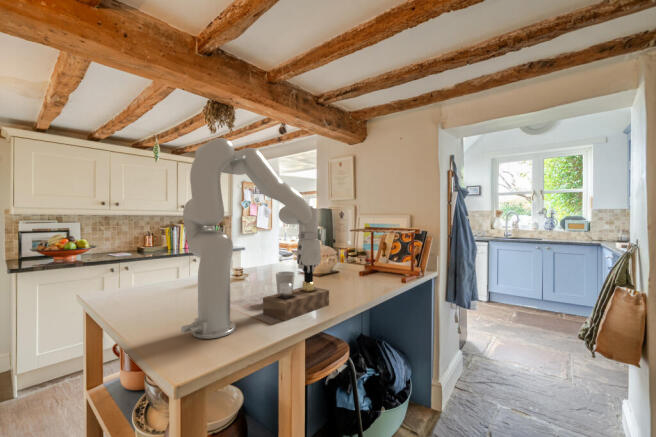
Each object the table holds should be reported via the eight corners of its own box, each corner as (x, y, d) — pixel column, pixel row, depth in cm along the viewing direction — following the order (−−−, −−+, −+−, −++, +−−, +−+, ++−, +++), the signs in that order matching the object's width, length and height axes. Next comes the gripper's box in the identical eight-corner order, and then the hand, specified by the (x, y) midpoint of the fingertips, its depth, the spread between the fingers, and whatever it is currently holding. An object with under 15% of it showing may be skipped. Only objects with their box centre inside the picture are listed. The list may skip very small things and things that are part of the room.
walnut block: (284, 321, 100) (284, 303, 100) (262, 313, 108) (262, 297, 108) (329, 305, 119) (329, 290, 119) (307, 299, 127) (307, 285, 127)
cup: (293, 304, 120) (293, 275, 120) (273, 304, 120) (273, 275, 120) (295, 298, 128) (295, 271, 128) (277, 298, 128) (277, 271, 128)
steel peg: (285, 301, 106) (285, 285, 106) (277, 299, 109) (277, 283, 109) (294, 298, 109) (294, 283, 109) (286, 296, 112) (286, 281, 112)
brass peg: (308, 298, 115) (308, 283, 115) (300, 296, 118) (300, 281, 118) (315, 295, 118) (315, 281, 118) (307, 294, 121) (308, 280, 121)
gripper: (302, 238, 110) (302, 286, 110) (327, 235, 121) (327, 279, 122) (288, 237, 115) (288, 283, 115) (313, 235, 126) (314, 277, 126)
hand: (308, 281), depth 118 cm, fingers closed
